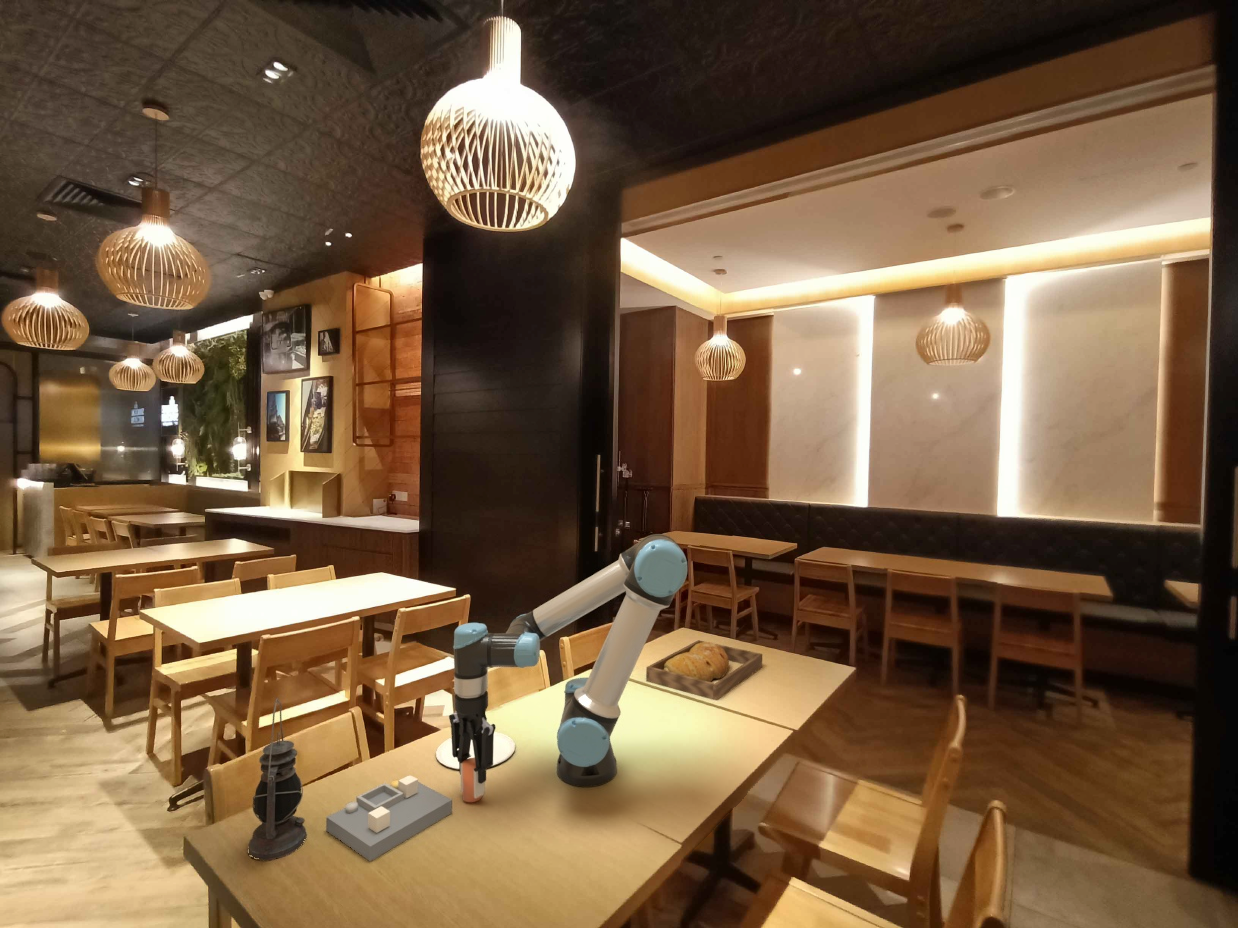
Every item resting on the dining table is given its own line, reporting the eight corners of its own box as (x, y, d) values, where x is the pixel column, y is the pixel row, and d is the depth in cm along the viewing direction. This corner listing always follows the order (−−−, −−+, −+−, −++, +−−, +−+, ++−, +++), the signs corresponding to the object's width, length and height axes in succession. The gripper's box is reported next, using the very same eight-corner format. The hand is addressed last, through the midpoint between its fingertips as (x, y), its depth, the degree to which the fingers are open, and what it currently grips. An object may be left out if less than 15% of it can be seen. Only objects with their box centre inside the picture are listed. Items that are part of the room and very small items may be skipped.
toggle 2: (417, 792, 137) (417, 779, 137) (406, 798, 134) (406, 784, 134) (409, 787, 139) (409, 774, 139) (398, 793, 136) (398, 780, 136)
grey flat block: (452, 812, 135) (452, 792, 135) (370, 861, 118) (370, 838, 118) (407, 788, 144) (408, 770, 144) (326, 830, 127) (326, 809, 127)
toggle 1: (389, 825, 125) (389, 811, 125) (376, 832, 122) (376, 818, 122) (381, 820, 126) (381, 805, 126) (368, 827, 124) (368, 812, 124)
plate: (445, 781, 148) (445, 775, 148) (428, 744, 167) (428, 739, 167) (526, 761, 158) (526, 756, 158) (501, 728, 177) (501, 724, 176)
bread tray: (762, 666, 231) (762, 653, 231) (716, 700, 199) (716, 685, 199) (698, 652, 247) (698, 640, 247) (646, 681, 214) (646, 667, 214)
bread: (704, 692, 206) (705, 663, 206) (655, 678, 218) (655, 651, 217) (743, 666, 232) (744, 640, 232) (698, 655, 244) (698, 630, 244)
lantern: (299, 858, 119) (300, 707, 118) (238, 868, 116) (238, 713, 115) (312, 821, 131) (313, 683, 130) (257, 829, 128) (257, 688, 127)
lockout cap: (486, 794, 141) (486, 760, 140) (471, 803, 137) (471, 768, 137) (473, 789, 143) (473, 755, 143) (458, 797, 139) (458, 763, 139)
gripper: (509, 694, 138) (510, 795, 138) (459, 679, 148) (461, 774, 148) (484, 706, 132) (485, 812, 132) (434, 689, 141) (436, 788, 142)
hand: (472, 791), depth 140 cm, fingers closed on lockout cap, 4 cm apart
